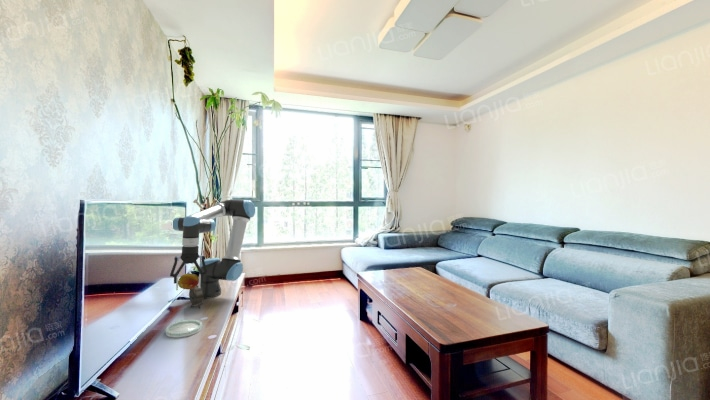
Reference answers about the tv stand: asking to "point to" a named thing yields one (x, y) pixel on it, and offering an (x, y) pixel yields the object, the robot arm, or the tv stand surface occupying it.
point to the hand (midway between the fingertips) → (188, 288)
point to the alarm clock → (196, 296)
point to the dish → (183, 328)
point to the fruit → (188, 281)
